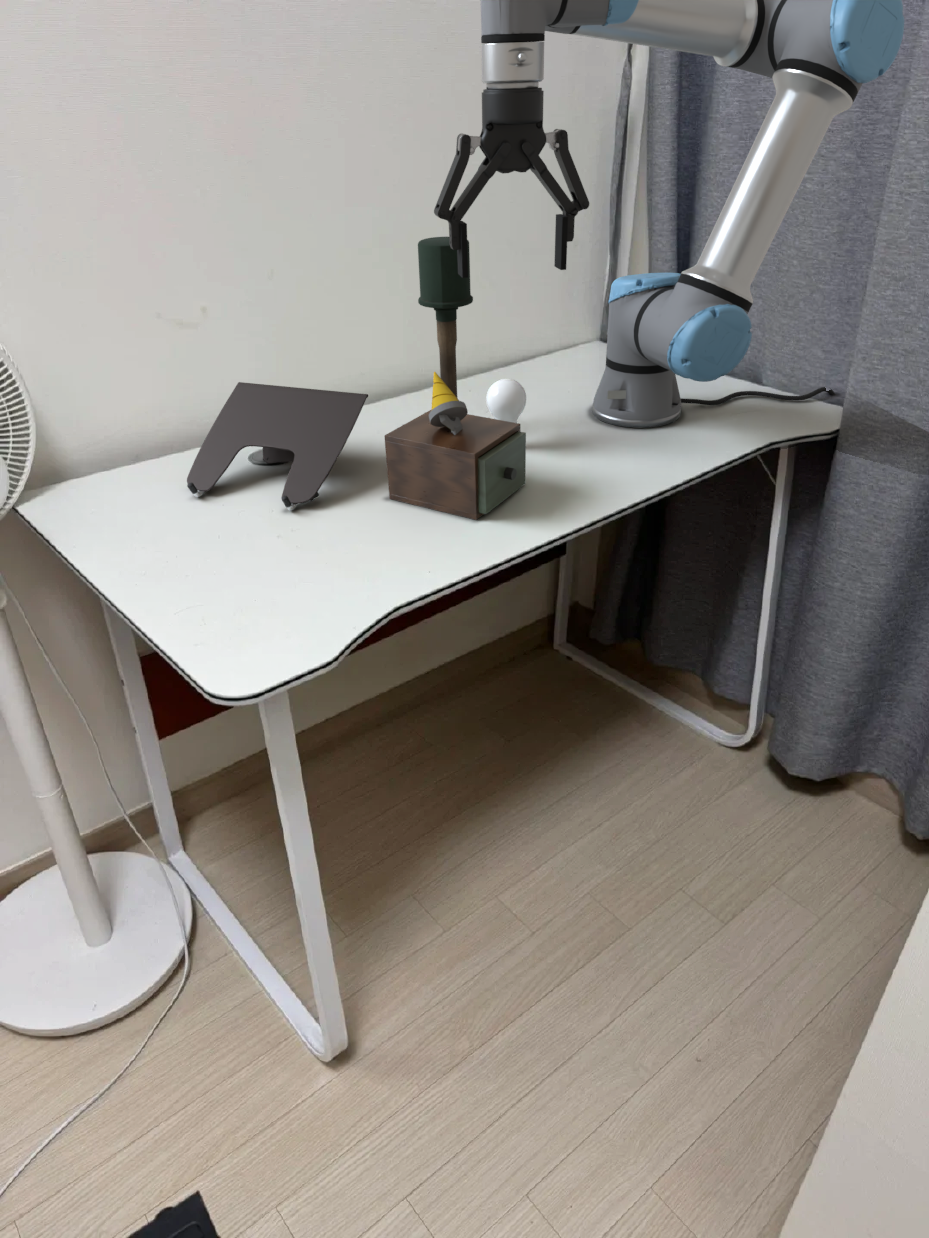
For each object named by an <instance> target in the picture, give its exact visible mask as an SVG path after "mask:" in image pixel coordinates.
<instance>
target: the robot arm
mask: <svg viewBox="0 0 929 1238" xmlns="http://www.w3.org/2000/svg"><path fill="white" fill-rule="evenodd" d="M480 27H481V28H480V32H481V38H480V39H481V40H480V43H481V44H480V56H481V58H480V62H481V63H480V66H481V67H480V68H481V69H480V70H481V75H480V78H481V79H480V81H481V83H483V84H486V85H485V86H486V87H485V88H484V89H483V90H482V91H483V92H481V132H480V134H479V136H477V135H469V134H466V133H462V132H461V133H459V134H458V135H457V136H456V145H455V146H456V149H455V155H454V158H453V160H452V163H451V165H450V168H449V171H448V173H447V176H446V178H445V181H444V184H443V186H442V189H441V191H440V193H439V196H438V199H437V200H436V203H435V207H434V209H433V213H434V215H435V216H436V217H437V218H439V219H440V220H445V221H447V223H448V237H449V244H450V247H451V249H453V250H457V261H458V275H460V276H461V277H462V278H468V251H467V240H468V223H466V222H465V221H463V218H464V217H465V215H466V214H467V212H468V211H469V209H470V208H471V207H472V205H473V204H474V202H475V201H476V199H477V198H478V197H479V196H480V194H481V192H482V191H483V189H484V188H485V187H486V185H487V184H488V183H489V181H490V179H492V178H493V177H494V175H495V174H496V172H497V173H500V174H510V173H513V172H516V173H517V172H518V173H527V172H528V171H529V170H530V171H531V172H532V173H533V174H534V175H535V177H536V179H538V181H539V182H540V184H541V186H543V188H544V189H545V190H546V192H547V193H548V195H549V196H550V197H551V198H552V200H553V201H554V203H555V204H556V206H558V208H559V210H560V212H562V213H556V214H555V227H554V228H555V229H554V230H555V231H554V233H555V235H554V264H553V266H554V267H555V268H556V269H558V270H560V271H565V270H566V271H567V258H568V256H567V255H568V243H569V242H573V241H574V238H575V218H576V216H577V215H578V214H579V212H581V211H582V210H587V209H589V207H590V201H589V197H588V195H587V193H586V190H585V187H584V186H583V183H582V180H581V178H580V175H579V172H578V170H577V168H576V164H575V162H574V160H573V157H572V155H571V153H570V152H571V151H570V149H569V134H568V132H567V130H566V129H561V128H555V129H554V130H553V131H549V132H545V130H544V96H545V95H544V92H545V91H544V90H543V88H542V87H539V83H541V82H543V80H544V78H545V77H544V76H545V75H544V74H545V70H544V69H545V41H546V38H545V34H546V32H549V33H555V34H564V35H574V36H580V37H586V38H592V39H593V38H594V39H599V40H604V41H613V42H618V43H625V44H632V45H638V46H643V47H650V48H657V49H664V50H670V51H676V52H683V53H689V54H696V55H702V56H708V57H713V59H714V61H715V63H717V65H719V66H720V67H724V68H732V69H736V70H740V71H745V72H749V73H753V74H756V75H760V76H763V77H766V78H770V79H772V83H773V85H774V90H775V96H774V98H773V100H772V103H771V105H770V107H769V108H768V111H767V112H766V115H765V117H764V119H763V121H762V124H761V126H760V128H759V130H758V131H757V135H756V136H755V139H754V140H753V143H752V145H751V147H750V149H749V152H748V154H747V156H746V158H745V160H744V162H743V165H742V167H741V169H740V171H739V173H738V175H737V177H736V179H735V181H734V183H733V185H732V188H731V190H730V192H729V194H728V196H727V198H726V200H725V203H724V205H723V207H722V209H721V211H720V212H719V213H720V214H719V216H718V218H717V220H716V221H715V224H714V226H713V228H712V230H711V232H710V235H709V237H708V239H707V240H706V243H705V246H704V248H703V250H702V252H701V253H700V255H699V258H698V260H697V262H696V264H694V265H693V266H692V267H688V268H687V269H685V270H683V271H681V273H679V272H648V273H636V274H628V275H623V276H620V277H617V278H616V279H614V280H613V282H611V286H610V291H609V298H608V301H607V304H608V316H607V317H608V318H607V334H606V352H605V353H606V354H605V368H604V371H603V373H602V376H601V379H600V381H599V384H598V386H597V389H596V392H595V394H594V396H593V401H592V410H591V411H592V412H591V413H592V415H593V416H594V417H595V418H596V419H597V420H599V421H601V422H604V423H606V424H610V425H613V426H617V427H624V428H635V429H636V428H639V429H641V428H656V427H661V426H666V425H670V424H672V423H674V422H676V421H677V420H679V419H680V417H681V415H682V404H690V405H691V404H693V405H701V406H702V405H704V406H715V405H716V406H717V405H720V404H723V403H726V402H728V401H730V400H732V399H735V398H737V397H747V396H748V397H753V396H754V397H762V398H769V399H774V400H781V401H793V402H794V401H795V402H796V401H798V402H799V401H804V400H808V399H811V398H813V397H815V396H817V395H819V394H821V393H824V392H825V393H827V394H828V395H830V396H835V395H836V393H835V391H834V390H833V389H832V388H830V389H831V390H829V391H826V388H825V387H826V386H821V387H818V388H817V389H814V390H813V391H811V392H808V393H806V394H803V395H787V394H779V393H772V392H766V391H759V390H758V391H757V390H741V391H737V392H732V393H730V394H727V395H725V396H724V397H721V398H718V399H711V400H709V399H698V398H682V397H681V393H680V389H679V385H678V380H677V376H679V377H681V378H683V379H689V380H692V381H695V382H699V383H706V382H712V381H716V380H718V379H719V378H721V377H724V376H726V375H728V374H729V373H731V372H732V371H733V370H734V369H735V368H736V367H738V365H739V364H740V363H741V362H742V360H743V358H744V357H745V356H746V354H747V352H748V350H749V348H750V345H751V341H752V336H753V332H751V329H752V326H753V325H752V320H751V319H750V316H749V312H750V310H751V308H752V307H753V303H754V299H753V295H752V293H751V285H752V283H753V281H754V280H755V277H756V275H757V273H758V271H759V269H760V268H761V265H762V263H763V261H764V259H765V257H766V255H767V254H768V251H769V249H770V247H771V245H772V243H773V241H774V238H775V237H776V235H777V233H778V230H779V229H780V226H781V224H782V222H783V221H784V219H785V217H786V214H787V212H788V210H789V208H790V206H791V205H792V203H793V200H794V198H795V196H796V194H797V192H798V191H799V188H800V186H801V184H802V182H803V180H804V179H805V176H806V174H807V172H808V170H809V168H810V165H811V164H812V162H813V160H814V159H815V158H814V157H815V156H816V154H817V152H818V150H819V148H820V145H821V144H822V142H823V139H824V138H825V135H826V134H827V132H828V129H829V127H830V125H831V124H832V122H833V119H834V118H835V117H836V116H837V115H839V114H842V113H843V112H846V111H847V110H850V109H851V108H852V106H853V104H854V102H855V99H856V98H857V96H858V94H859V92H860V90H861V87H862V86H863V84H868V83H869V82H872V81H875V80H877V79H878V78H879V77H882V76H883V75H884V74H885V73H886V72H887V71H888V70H889V69H890V67H891V66H892V64H893V63H894V61H895V60H896V58H897V56H898V54H899V51H900V48H901V45H902V41H903V37H904V32H905V17H904V4H903V0H480ZM546 144H547V145H548V147H549V149H550V151H553V153H554V156H555V159H556V162H557V164H558V167H559V169H560V171H561V174H562V177H563V179H564V182H565V183H566V186H567V189H568V191H569V194H570V196H571V198H572V200H571V199H570V198H569V196H568V195H567V194H566V192H565V191H564V189H563V188H562V187H561V185H560V184H559V182H557V179H556V178H555V177H554V176H553V174H552V173H551V172H550V169H548V166H547V165H546V163H545V162H544V161H543V159H542V157H540V154H541V153H542V151H543V150H544V147H545V146H546ZM478 147H479V149H480V150H481V152H482V153H483V155H484V156H485V157H484V159H483V160H482V162H481V163H480V165H478V169H477V171H476V172H475V173H474V175H473V177H472V178H471V179H470V181H469V182H468V183H467V185H466V187H464V189H463V191H462V192H461V194H460V196H459V197H458V198H457V200H456V201H455V202H454V199H455V196H456V193H457V191H458V188H459V186H460V184H461V181H462V178H463V177H464V174H465V170H466V168H467V166H468V163H469V161H470V157H471V156H473V155H474V154H475V152H476V149H477V148H478ZM453 202H454V204H453V206H452V203H453ZM451 206H452V207H451Z"/></svg>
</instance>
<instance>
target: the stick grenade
mask: <svg viewBox="0 0 929 1238" xmlns="http://www.w3.org/2000/svg"><path fill="white" fill-rule="evenodd" d="M467 251H468V278H462V277H461V276H460V275H458V261H457V250H453V249H451V247H450V244H449V236H434V237H433V236H432V237H427V238H424V239H423V238H422V239H421V240H419V241H418V243H417V255H418V256H417V258H418V259H417V260H418V275H419V276H418V277H419V279H418V280H419V297H418V299H417V303H418V305H420V306H421V307H425V308H431V309H433V310H434V311H435V320H436V336H437V337H436V339H437V345H438V349H439V350H438V351H439V352H438V353H439V372H440V373H439V375H440V376H439V377H440V378H441V379H442V381H443V382H444V383H445V384H446V385H447V387H448V388H449V389H450V390H451V391H452V393H453V394H454V395H455V396H456V397H457V399H458V378H457V377H458V376H457V373H458V372H457V344H458V343H457V341H458V330H457V327H458V326H457V319H458V315H457V314H458V313H457V312H458V309H459V308H461V307H465V306H468V305H471V304H472V303H473V302H474V296H473V295H472V293H471V258H470V257H471V255H470V254H471V253H470V241H469V239H467ZM458 400H459V399H458Z"/></svg>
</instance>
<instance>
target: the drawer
mask: <svg viewBox="0 0 929 1238" xmlns="http://www.w3.org/2000/svg"><path fill="white" fill-rule="evenodd" d="M526 455H527V432H524V431H521V430H520V431H518V432H517V433H515V434H514V435H512V436H511V437H509V438H506V439H505V440H503V441H502V442H500V443H499V444H497V445H496V446H494V447H493V448H491V449H490V450H488V451H487V452H485V453H484V454H482V455H481V456H479V457H478V502H479V513H483V514H484V515H487V514H489V513H490V512H491V511H492V510H494V509H495V508H496V507H498V506H499V505H500V504H501V503H502V502H504V501H505V500H506V499H508V498H509V497H511V496H512V495H513V494H514V493H515V492H516V491H518V490H519V489H521V488H522V487H523V486H525V485H526V466H527V465H526V464H527V463H526V461H527V459H526V457H527V456H526Z"/></svg>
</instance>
